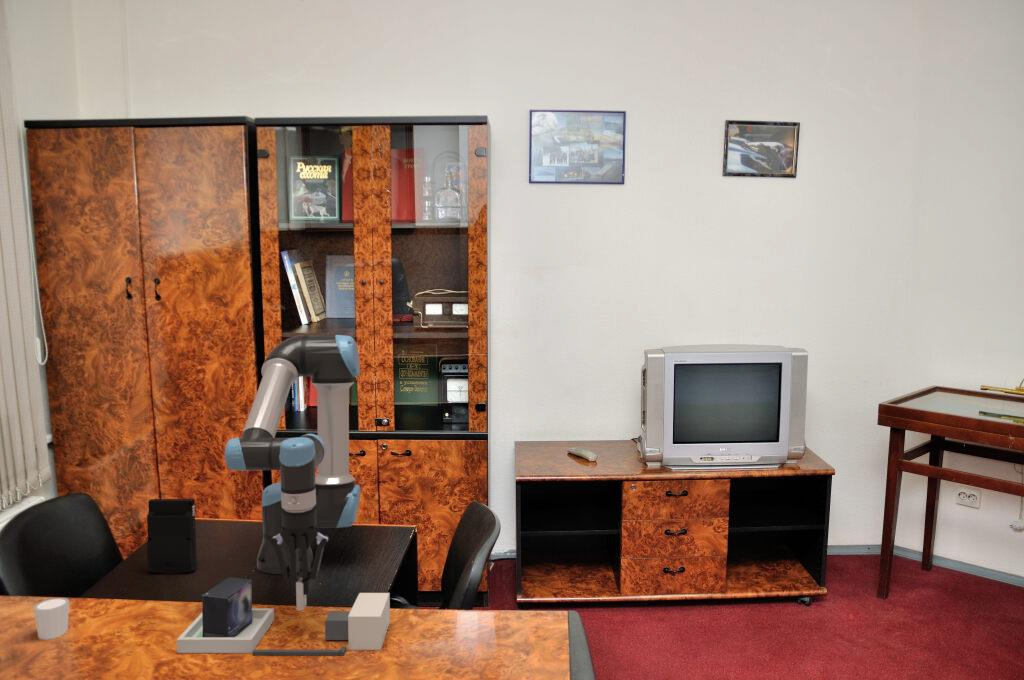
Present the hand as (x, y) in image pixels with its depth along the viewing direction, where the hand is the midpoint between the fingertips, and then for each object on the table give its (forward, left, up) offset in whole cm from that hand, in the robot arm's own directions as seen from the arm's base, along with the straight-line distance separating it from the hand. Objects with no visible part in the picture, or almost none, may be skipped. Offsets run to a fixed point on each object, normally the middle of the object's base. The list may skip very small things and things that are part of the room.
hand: (301, 607), depth 167 cm
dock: (+3, -16, -6) cm, 17 cm away
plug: (+3, +11, -6) cm, 12 cm away
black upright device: (-33, -45, -6) cm, 56 cm away
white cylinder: (+2, -56, -6) cm, 56 cm away
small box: (+3, -16, -5) cm, 17 cm away
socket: (+3, +15, -6) cm, 16 cm away
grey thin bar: (+11, +2, -6) cm, 12 cm away
